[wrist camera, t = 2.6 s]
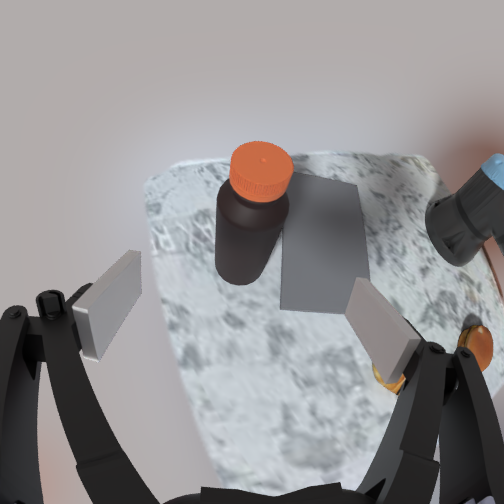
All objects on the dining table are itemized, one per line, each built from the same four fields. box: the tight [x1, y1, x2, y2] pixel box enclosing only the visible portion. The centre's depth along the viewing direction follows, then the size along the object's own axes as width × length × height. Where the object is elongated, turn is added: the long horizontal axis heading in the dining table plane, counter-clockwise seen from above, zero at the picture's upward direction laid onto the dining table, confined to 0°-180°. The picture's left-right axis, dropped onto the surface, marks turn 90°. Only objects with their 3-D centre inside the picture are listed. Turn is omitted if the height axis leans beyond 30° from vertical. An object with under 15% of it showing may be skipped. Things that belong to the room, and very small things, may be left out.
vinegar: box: [215, 141, 294, 285], centre depth 29 cm, size 7×7×20 cm
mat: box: [280, 172, 370, 314], centre depth 41 cm, size 14×24×1 cm, turn 175°
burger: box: [458, 325, 493, 372], centre depth 34 cm, size 10×9×5 cm
